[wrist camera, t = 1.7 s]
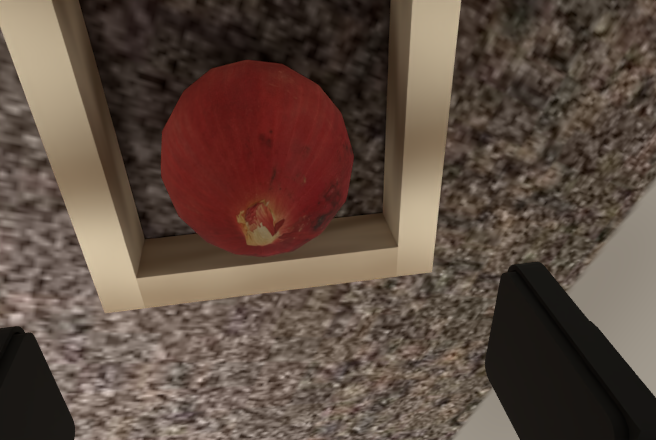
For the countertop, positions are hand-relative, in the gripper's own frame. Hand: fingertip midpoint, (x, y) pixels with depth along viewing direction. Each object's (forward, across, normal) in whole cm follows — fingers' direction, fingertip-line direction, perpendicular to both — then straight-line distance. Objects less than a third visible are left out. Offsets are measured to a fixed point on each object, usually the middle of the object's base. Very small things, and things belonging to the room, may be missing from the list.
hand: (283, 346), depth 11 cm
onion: (+11, 0, -1) cm, 11 cm away
